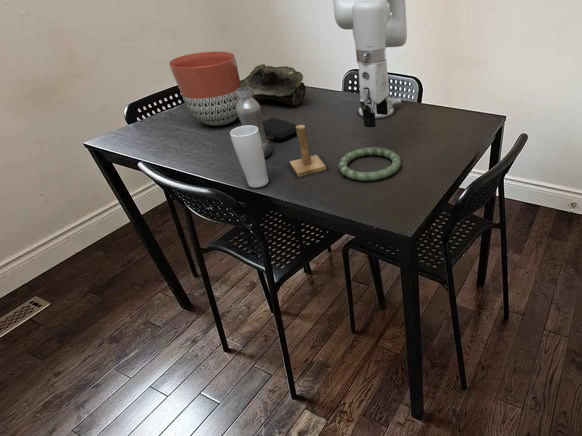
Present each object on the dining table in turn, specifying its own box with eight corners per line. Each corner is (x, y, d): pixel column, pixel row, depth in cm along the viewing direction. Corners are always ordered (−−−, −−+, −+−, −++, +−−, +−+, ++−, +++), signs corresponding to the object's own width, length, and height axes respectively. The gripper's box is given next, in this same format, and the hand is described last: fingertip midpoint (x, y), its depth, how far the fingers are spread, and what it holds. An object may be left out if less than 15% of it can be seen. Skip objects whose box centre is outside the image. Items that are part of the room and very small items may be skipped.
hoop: (384, 148, 126) (384, 141, 124) (411, 172, 113) (411, 164, 112) (330, 162, 119) (329, 154, 118) (353, 189, 107) (352, 181, 105)
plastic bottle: (276, 153, 125) (261, 86, 113) (263, 163, 119) (245, 94, 108) (258, 150, 126) (241, 84, 115) (244, 160, 121) (224, 92, 110)
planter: (178, 129, 141) (154, 64, 128) (220, 109, 155) (202, 49, 143) (223, 137, 135) (202, 70, 122) (262, 116, 149) (247, 53, 137)
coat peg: (317, 158, 121) (310, 118, 114) (326, 169, 115) (319, 128, 108) (290, 165, 118) (281, 124, 111) (298, 177, 112) (289, 135, 105)
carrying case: (248, 134, 136) (277, 145, 129) (246, 125, 134) (275, 136, 127) (275, 123, 143) (304, 133, 136) (273, 115, 141) (302, 124, 134)
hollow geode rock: (309, 120, 158) (325, 84, 158) (286, 105, 146) (303, 66, 147) (260, 104, 170) (275, 71, 171) (236, 89, 159) (252, 53, 160)
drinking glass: (248, 178, 112) (233, 125, 104) (274, 176, 113) (261, 124, 104) (242, 191, 107) (225, 137, 98) (269, 189, 107) (255, 135, 99)
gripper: (373, 64, 98) (378, 133, 107) (395, 48, 112) (398, 110, 121) (343, 63, 100) (351, 130, 109) (369, 47, 113) (374, 108, 123)
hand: (376, 120), depth 115 cm, fingers open, 9 cm apart
